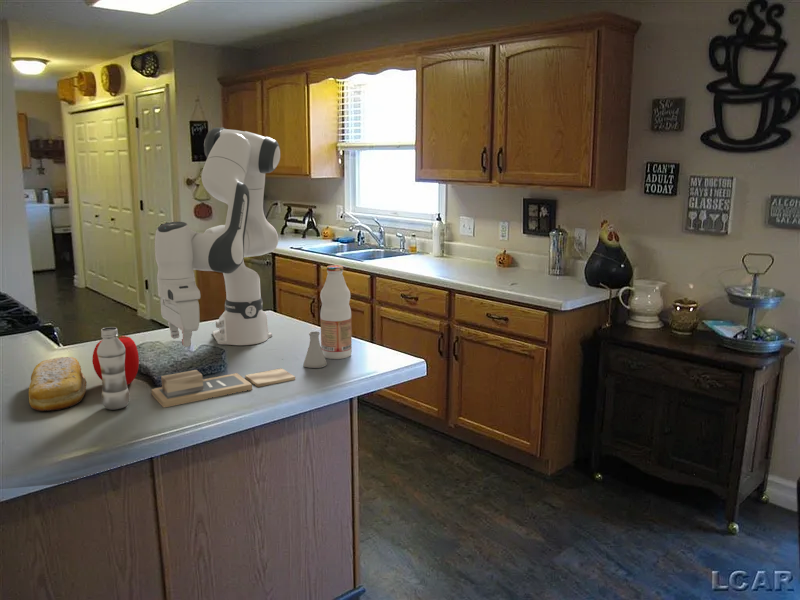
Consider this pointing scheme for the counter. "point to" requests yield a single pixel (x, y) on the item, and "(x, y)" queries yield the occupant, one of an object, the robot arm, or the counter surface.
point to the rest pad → (269, 377)
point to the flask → (314, 353)
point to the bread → (56, 384)
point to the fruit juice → (335, 315)
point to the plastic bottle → (113, 370)
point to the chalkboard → (205, 390)
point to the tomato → (130, 359)
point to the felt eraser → (182, 383)
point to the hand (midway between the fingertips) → (180, 341)
